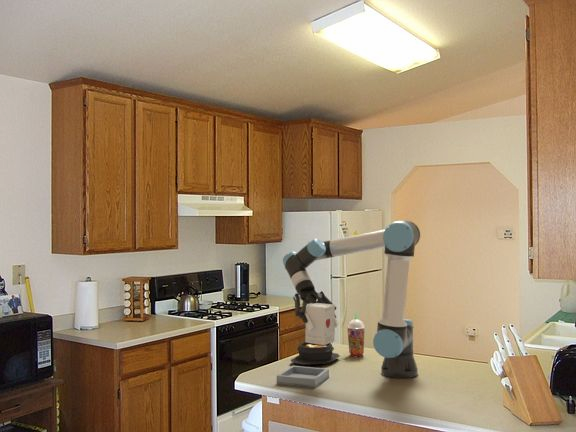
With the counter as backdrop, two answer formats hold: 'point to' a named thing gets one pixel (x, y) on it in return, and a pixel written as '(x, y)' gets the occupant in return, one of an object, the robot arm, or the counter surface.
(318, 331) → the supplement box
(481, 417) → the counter surface
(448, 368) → the counter surface
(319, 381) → the tray
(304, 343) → the casserole
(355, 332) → the smoothie
